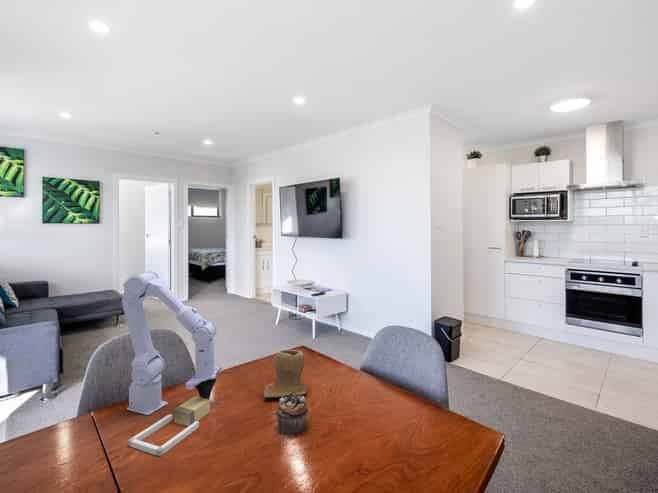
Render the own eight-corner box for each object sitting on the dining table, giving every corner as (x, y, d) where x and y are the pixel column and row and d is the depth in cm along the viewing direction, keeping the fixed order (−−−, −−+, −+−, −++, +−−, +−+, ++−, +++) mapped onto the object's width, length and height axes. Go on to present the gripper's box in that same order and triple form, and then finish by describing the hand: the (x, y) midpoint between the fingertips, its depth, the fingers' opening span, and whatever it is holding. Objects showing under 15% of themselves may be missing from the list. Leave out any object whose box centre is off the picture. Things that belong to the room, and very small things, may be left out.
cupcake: (314, 423, 104) (314, 391, 103) (295, 440, 95) (295, 405, 95) (289, 414, 109) (289, 383, 108) (268, 429, 100) (268, 396, 100)
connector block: (173, 422, 104) (173, 409, 103) (195, 408, 112) (195, 396, 112) (189, 426, 101) (189, 413, 101) (210, 411, 110) (210, 399, 110)
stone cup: (304, 383, 130) (304, 344, 130) (308, 399, 119) (308, 356, 118) (264, 386, 128) (264, 347, 127) (263, 402, 116) (263, 359, 115)
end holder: (127, 445, 92) (127, 440, 92) (169, 418, 106) (169, 414, 105) (159, 456, 88) (159, 450, 88) (199, 426, 101) (199, 421, 101)
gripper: (198, 371, 103) (199, 415, 104) (229, 354, 116) (229, 393, 117) (180, 367, 105) (180, 410, 106) (212, 351, 119) (212, 390, 120)
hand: (205, 401), depth 112 cm, fingers closed
